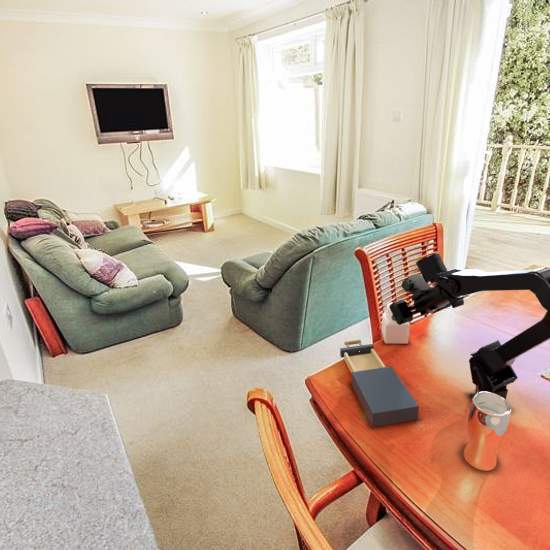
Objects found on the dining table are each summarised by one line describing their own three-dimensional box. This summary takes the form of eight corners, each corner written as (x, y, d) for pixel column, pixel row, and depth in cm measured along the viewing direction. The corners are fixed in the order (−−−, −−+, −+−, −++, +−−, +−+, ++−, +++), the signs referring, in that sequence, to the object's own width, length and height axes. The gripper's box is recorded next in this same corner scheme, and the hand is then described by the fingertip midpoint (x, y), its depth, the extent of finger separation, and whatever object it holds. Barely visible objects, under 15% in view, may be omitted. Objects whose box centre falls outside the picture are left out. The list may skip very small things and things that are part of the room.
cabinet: (351, 384, 102) (351, 372, 100) (390, 378, 103) (391, 366, 101) (372, 427, 88) (372, 413, 86) (417, 419, 89) (418, 406, 87)
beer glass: (453, 451, 80) (463, 397, 74) (478, 440, 82) (490, 386, 76) (480, 478, 74) (493, 421, 68) (506, 465, 76) (521, 409, 70)
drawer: (336, 348, 116) (336, 341, 115) (367, 343, 117) (367, 336, 116) (355, 387, 99) (356, 379, 98) (391, 381, 100) (392, 373, 99)
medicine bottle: (403, 331, 123) (406, 299, 118) (408, 344, 117) (411, 310, 112) (381, 331, 124) (383, 299, 119) (384, 343, 118) (387, 310, 113)
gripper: (448, 262, 106) (415, 283, 119) (396, 277, 99) (368, 298, 112) (467, 298, 102) (432, 315, 116) (415, 316, 95) (384, 332, 109)
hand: (404, 314), depth 113 cm, fingers open, 9 cm apart
